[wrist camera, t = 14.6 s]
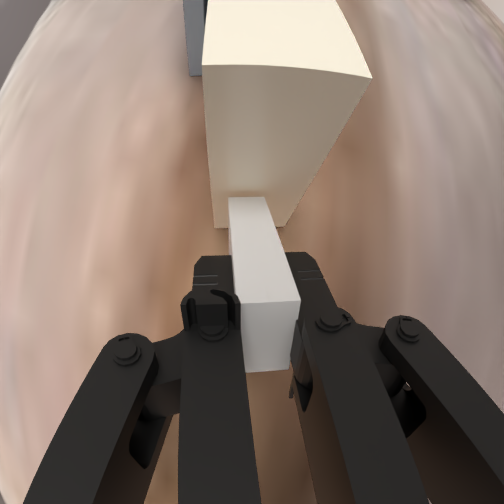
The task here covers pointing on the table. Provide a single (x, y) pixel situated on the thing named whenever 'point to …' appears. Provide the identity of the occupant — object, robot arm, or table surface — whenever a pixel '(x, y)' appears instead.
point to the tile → (275, 97)
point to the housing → (195, 33)
